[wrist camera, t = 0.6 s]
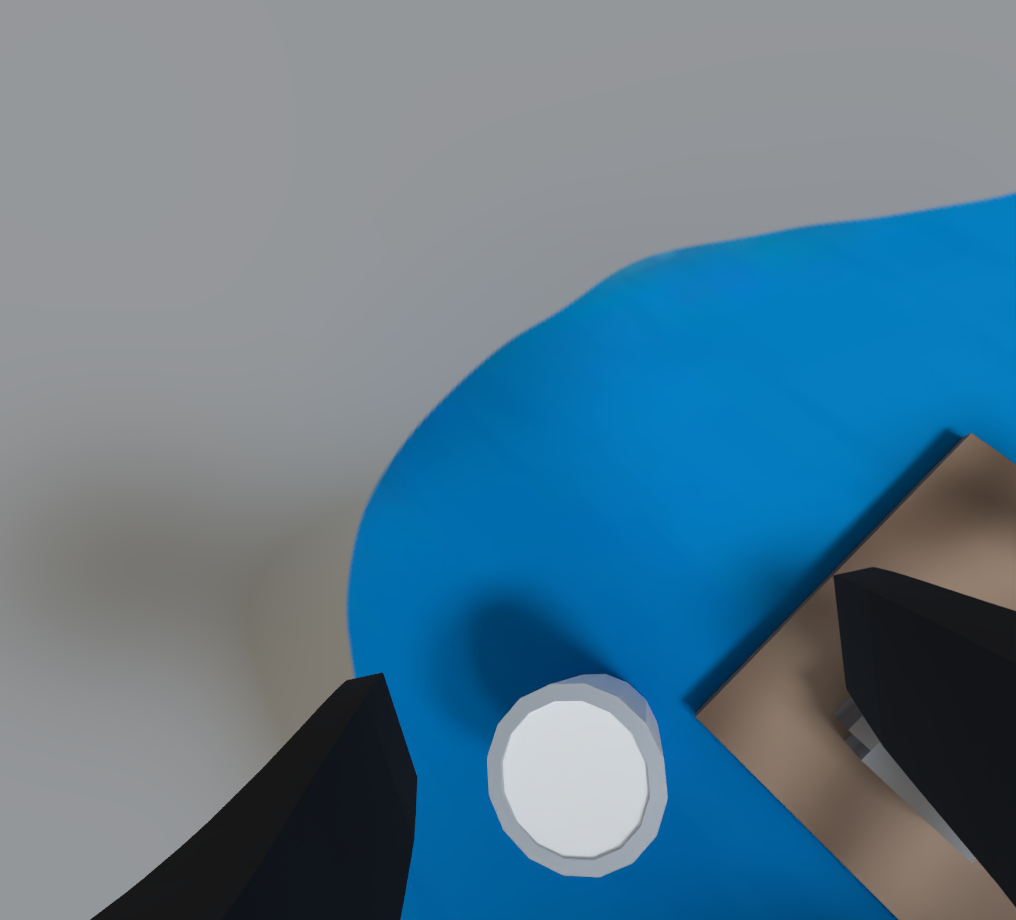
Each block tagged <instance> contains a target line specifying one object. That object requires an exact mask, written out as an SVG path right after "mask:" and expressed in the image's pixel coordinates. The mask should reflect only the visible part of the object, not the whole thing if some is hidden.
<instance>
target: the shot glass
mask: <svg viewBox="0 0 1016 920" xmlns="http://www.w3.org/2000/svg"><path fill="white" fill-rule="evenodd" d="M487 768H488V788H489V797H490V799H491V801H492V804H493V806H494V809H495V811H496V813H497V816H498V818H499V821H500V823H501V825H502V828H503V830H504V831H505V832H506V834H507V835H508V836H509V837H510V838H511V839H512V840H513V841H514V842H515V843H516V845H517V846H518V847H519V848H520V849H521V850H522V851H523V852H524V853H525V854H526V855H527V857H528V858H529V859H531V860H533V861H535V862H537V863H539V864H541V865H543V866H545V867H547V868H549V869H551V870H553V871H555V872H557V873H559V874H561V875H564V876H583V877H601V876H604V875H606V874H609V873H611V872H613V871H616V870H618V869H621V868H623V867H625V866H628V865H630V864H633V862H634V861H635V860H636V859H637V858H638V857H639V856H640V854H641V853H642V852H643V851H644V850H645V849H646V848H647V846H648V845H649V844H650V843H651V842H652V841H653V840H654V838H655V837H656V836H657V833H658V830H659V827H660V823H661V820H662V817H663V813H664V810H665V807H666V803H667V800H668V796H667V785H666V775H665V765H664V757H663V751H662V745H661V740H660V734H659V729H658V723H657V721H656V719H655V717H654V715H653V713H652V711H651V709H650V707H649V705H648V703H647V701H646V699H645V698H644V697H643V696H642V695H641V694H639V693H638V692H637V691H636V690H635V689H634V688H633V687H632V686H631V685H630V684H629V683H627V682H625V681H622V680H620V679H617V678H615V677H612V676H610V675H607V674H583V675H579V676H576V677H572V678H569V679H566V680H562V681H559V682H555V683H552V684H549V685H547V686H545V687H543V688H541V689H539V690H537V691H534V692H532V693H530V694H528V695H526V696H524V697H522V698H520V699H519V700H518V701H517V702H516V704H515V705H514V706H513V707H512V708H511V709H510V711H509V712H508V713H507V714H506V715H505V716H504V718H503V719H502V720H501V721H500V722H499V724H498V725H497V728H496V731H495V735H494V738H493V741H492V744H491V747H490V750H489V753H488V756H487Z"/></svg>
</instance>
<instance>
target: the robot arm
mask: <svg viewBox="0 0 1016 920" xmlns="http://www.w3.org/2000/svg"><path fill="white" fill-rule="evenodd" d="M833 578H834V587H835V595H836V604H837V613H838V622H839V631H840V640H841V648H842V657H843V666H844V675H845V684H846V689H847V691H848V692H849V694H850V696H851V697H852V699H853V700H854V702H855V704H856V705H857V707H858V709H859V710H860V712H861V713H862V715H863V717H864V718H865V720H866V721H867V723H868V724H869V726H870V727H871V729H872V730H873V732H874V733H875V735H876V737H877V738H878V740H879V741H880V743H881V744H882V746H883V747H884V748H885V749H886V751H887V752H888V753H889V754H890V756H891V757H892V758H893V759H894V761H895V762H896V763H897V764H898V765H899V767H900V768H901V769H902V770H903V772H904V773H905V774H906V775H907V776H908V778H909V779H910V780H911V781H912V782H913V784H914V785H915V786H916V787H917V789H918V790H919V791H920V792H921V793H922V795H923V796H924V797H925V798H926V799H927V801H928V802H929V803H930V804H931V805H932V807H933V808H934V809H935V810H936V811H937V812H938V814H939V815H940V816H941V817H942V818H943V820H944V821H945V822H946V823H947V824H948V826H949V827H950V828H951V829H952V830H953V832H954V833H955V834H956V835H957V836H958V838H959V839H960V840H961V841H962V842H963V844H964V845H965V846H966V847H967V848H968V850H969V851H970V852H971V853H972V854H973V856H974V857H975V858H976V859H977V860H978V861H979V863H980V864H981V865H982V866H983V867H984V869H985V870H986V871H987V872H988V873H989V875H990V876H991V877H992V878H993V879H994V881H995V882H996V883H997V884H998V885H999V887H1000V888H1001V889H1002V891H1003V892H1004V893H1005V894H1006V896H1007V897H1008V898H1009V900H1010V901H1011V902H1012V903H1013V905H1014V906H1015V907H1016V611H1014V610H1011V609H1008V608H1005V607H1002V606H999V605H995V604H992V603H989V602H986V601H983V600H980V599H977V598H974V597H971V596H968V595H965V594H962V593H959V592H956V591H952V590H949V589H946V588H943V587H940V586H937V585H934V584H931V583H928V582H925V581H922V580H919V579H916V578H912V577H909V576H906V575H903V574H899V573H896V572H893V571H889V570H885V569H881V568H877V567H869V568H865V569H860V570H856V571H851V572H846V573H842V574H837V575H833ZM416 793H417V775H416V772H415V769H414V766H413V763H412V760H411V757H410V754H409V751H408V748H407V745H406V742H405V739H404V736H403V733H402V729H401V726H400V723H399V720H398V717H397V714H396V711H395V708H394V705H393V702H392V699H391V696H390V693H389V690H388V687H387V684H386V681H385V678H384V675H383V673H379V674H374V675H369V676H365V677H360V678H356V679H351V680H347V681H345V682H344V683H343V684H342V685H341V686H340V687H339V688H338V689H337V690H336V691H335V692H334V693H333V694H332V695H331V696H330V697H329V698H328V699H327V700H326V701H325V702H324V703H323V704H322V705H321V706H320V707H319V708H318V709H317V711H316V712H315V713H314V714H313V715H312V716H311V717H310V718H309V719H308V720H307V721H306V723H305V724H304V725H303V726H302V727H301V728H300V729H299V730H298V731H297V732H296V733H295V734H294V735H293V736H292V738H291V739H290V740H289V741H288V742H287V743H286V744H285V745H284V746H283V747H282V748H281V749H280V750H279V752H277V754H276V755H275V756H274V757H273V758H272V759H271V760H270V761H269V762H268V763H267V764H266V765H265V766H264V767H263V768H262V769H261V770H260V771H259V772H258V773H257V774H256V775H255V777H253V778H252V779H251V780H250V781H249V782H248V783H247V784H246V785H245V786H244V787H243V788H242V789H241V790H240V791H239V792H238V793H237V794H236V795H235V796H234V797H233V798H232V799H231V800H230V801H229V802H228V803H227V804H226V805H225V806H224V807H223V808H222V809H221V810H220V811H219V812H218V813H217V814H216V815H215V816H214V817H213V818H212V819H211V820H210V821H209V822H208V823H207V824H205V825H204V826H203V827H202V828H201V829H200V830H199V831H198V832H197V833H196V834H195V835H193V836H192V837H191V838H190V839H189V840H188V841H187V842H186V843H185V844H183V845H182V846H181V847H180V848H179V849H178V850H177V851H175V852H174V853H173V854H172V855H171V856H170V857H168V858H167V859H166V860H165V861H164V862H162V863H161V864H160V865H159V866H158V867H157V868H155V869H154V870H153V871H152V872H151V873H149V874H148V875H147V876H146V877H145V878H144V879H142V880H141V881H140V882H139V883H138V884H136V885H135V886H134V887H132V888H131V889H130V890H129V891H128V892H126V893H125V894H124V895H122V896H121V897H120V898H118V899H117V900H116V901H114V902H113V903H112V904H110V905H109V906H108V907H106V908H105V909H104V910H102V911H101V912H100V913H98V914H97V915H96V916H95V917H93V918H92V919H91V920H400V918H401V913H402V907H403V902H404V896H405V890H406V885H407V879H408V873H409V867H410V861H411V856H412V849H413V843H414V831H415V816H416Z"/></svg>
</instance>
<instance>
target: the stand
mask: <svg viewBox="0 0 1016 920" xmlns="http://www.w3.org/2000/svg"><path fill="white" fill-rule="evenodd" d="M869 567H877V568H881V569H885V570H889V571H893V572H896V573H899V574H903V575H906V576H909V577H912V578H916V579H919V580H922V581H925V582H928V583H931V584H934V585H937V586H940V587H943V588H946V589H949V590H952V591H956V592H959V593H962V594H965V595H968V596H971V597H974V598H977V599H980V600H983V601H986V602H989V603H992V604H995V605H999V606H1002V607H1005V608H1008V609H1011V610H1014V611H1016V464H1014V463H1013V462H1011V461H1010V460H1009V459H1007V458H1006V457H1004V456H1003V455H1002V454H1000V453H999V452H997V451H996V450H995V449H993V448H992V447H990V446H989V445H988V444H986V443H985V442H983V441H982V440H981V439H979V438H978V437H976V436H975V435H973V434H972V433H970V434H968V435H966V436H964V437H962V438H961V439H960V440H959V442H958V443H957V444H956V445H955V446H954V447H953V448H952V449H951V450H950V451H949V452H948V453H947V454H946V455H945V456H944V457H943V458H942V459H941V460H940V461H939V462H938V463H937V464H936V465H935V466H934V467H933V468H932V469H931V470H930V471H929V472H928V473H927V474H926V476H925V477H924V478H923V479H922V480H921V481H920V482H919V483H918V484H917V485H916V486H915V487H914V488H913V489H912V490H911V491H910V492H909V493H908V494H907V495H906V496H905V497H904V498H903V499H902V500H901V501H900V502H899V503H898V504H897V505H896V506H895V507H894V509H893V510H892V511H891V512H890V513H889V514H888V515H887V516H886V517H885V518H884V519H883V520H882V521H881V522H880V523H879V524H878V525H877V526H876V527H875V528H874V529H873V530H872V531H871V532H870V533H869V534H868V535H867V536H866V537H865V538H864V539H863V540H862V541H861V543H860V544H859V545H858V546H857V547H856V548H855V549H854V550H853V551H852V552H851V553H850V554H849V555H848V556H847V557H846V558H845V559H844V560H843V561H842V562H841V563H840V564H839V565H838V566H837V567H836V568H835V569H834V570H833V571H832V572H831V573H830V574H829V575H828V577H827V578H826V579H825V580H824V581H823V582H822V583H821V584H820V585H819V586H818V587H817V588H816V589H815V590H814V591H813V592H812V593H811V594H810V595H809V596H808V597H807V598H806V599H805V600H804V601H803V602H802V603H801V604H800V605H799V606H798V607H797V608H796V610H795V611H794V612H793V613H792V614H791V615H790V616H789V617H788V618H787V619H786V620H785V621H784V622H783V623H782V624H781V625H780V626H779V627H778V628H777V629H776V630H775V631H774V632H773V633H772V634H771V635H770V636H769V637H768V638H767V639H766V640H765V641H764V642H763V644H762V645H761V646H760V647H759V648H758V649H757V650H756V651H755V652H754V653H753V654H752V655H751V656H750V657H749V658H748V659H747V660H746V661H745V662H744V663H743V664H742V665H741V666H740V667H739V668H738V669H737V670H736V671H735V672H734V673H733V674H732V675H731V677H730V678H729V679H728V680H727V681H726V682H725V683H724V684H723V685H722V686H721V687H720V688H719V689H718V690H717V691H716V692H715V693H714V694H713V695H712V696H711V697H710V698H709V699H708V700H707V701H706V702H705V703H704V704H703V705H702V706H701V707H700V708H699V709H698V711H697V712H696V718H697V719H698V720H699V721H700V722H701V723H702V724H703V725H704V726H705V727H706V728H707V729H708V730H709V731H710V732H711V733H712V734H713V735H714V736H715V737H716V738H717V739H718V740H719V741H720V742H721V743H722V744H723V745H724V746H725V747H726V748H727V749H728V750H729V751H730V752H731V753H732V754H733V755H734V756H735V757H736V758H737V759H738V760H739V761H740V762H741V763H742V764H743V765H744V766H745V767H746V768H747V769H748V770H749V771H750V772H751V773H752V774H753V775H754V776H755V777H756V778H757V779H758V780H759V781H760V782H761V783H762V784H763V785H764V786H765V787H766V788H767V789H768V790H769V791H770V792H771V793H772V794H773V795H774V796H775V797H776V798H777V799H778V800H779V801H780V802H781V803H782V804H783V805H784V806H785V807H786V808H787V809H788V810H789V811H790V812H791V813H792V814H793V815H794V816H795V817H796V818H797V819H798V820H799V821H800V822H801V823H802V824H803V825H804V826H805V827H806V828H807V829H808V830H809V831H810V832H811V833H812V834H813V835H814V836H815V837H816V838H817V839H818V840H819V841H820V842H821V843H822V844H823V845H824V846H825V847H826V848H827V849H828V850H829V851H830V852H831V853H832V854H833V855H834V856H835V857H836V858H837V859H838V860H839V861H840V862H841V863H842V864H843V865H844V866H845V867H846V868H847V869H848V870H849V871H850V872H851V873H852V874H853V875H854V876H855V877H856V878H857V879H858V880H859V881H860V882H861V883H862V884H863V885H864V886H865V887H866V888H867V889H868V890H869V891H870V892H871V893H872V894H873V895H874V896H875V897H876V898H877V899H878V900H879V901H880V902H881V903H882V904H883V905H884V906H885V907H886V908H887V909H888V910H889V911H890V912H891V913H892V914H893V915H894V916H895V917H896V918H897V919H898V920H1016V907H1015V906H1014V905H1013V903H1012V902H1011V901H1010V900H1009V898H1008V897H1007V896H1006V894H1005V893H1004V892H1003V891H1002V889H1001V888H1000V887H999V885H998V884H997V883H996V882H995V881H994V879H993V878H992V877H991V876H990V875H989V873H988V872H987V871H986V870H985V869H984V867H983V866H982V865H981V864H980V863H979V861H978V860H977V859H976V858H975V857H974V856H973V854H972V853H971V852H970V851H969V850H968V848H967V847H966V846H965V845H964V844H963V842H962V841H961V840H960V839H959V838H958V836H957V835H956V834H955V833H954V832H953V830H952V829H951V828H950V827H949V826H948V824H947V823H946V822H945V821H944V820H943V818H942V817H941V816H940V815H939V814H938V812H937V811H936V810H935V809H934V808H933V807H932V805H931V804H930V803H929V802H928V801H927V799H926V798H925V797H924V796H923V795H922V793H921V792H920V791H919V790H918V789H917V787H916V786H915V785H914V784H913V782H912V781H911V780H910V779H909V778H908V776H907V775H906V774H905V773H904V772H903V770H902V769H901V768H900V767H899V765H898V764H897V763H896V762H895V761H894V759H893V758H892V757H891V756H890V754H889V753H888V752H887V751H886V749H885V748H884V747H883V746H882V744H881V743H880V741H879V740H878V738H877V737H876V735H875V733H874V732H873V730H872V729H871V727H870V726H869V724H868V723H867V721H866V720H865V718H864V717H863V715H862V713H861V712H860V710H859V709H858V707H857V705H856V704H855V702H854V700H853V699H852V697H851V696H850V694H849V692H848V691H847V689H846V684H845V675H844V666H843V657H842V648H841V640H840V631H839V622H838V613H837V604H836V595H835V587H834V578H833V575H837V574H842V573H846V572H851V571H856V570H860V569H865V568H869Z"/></svg>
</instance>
